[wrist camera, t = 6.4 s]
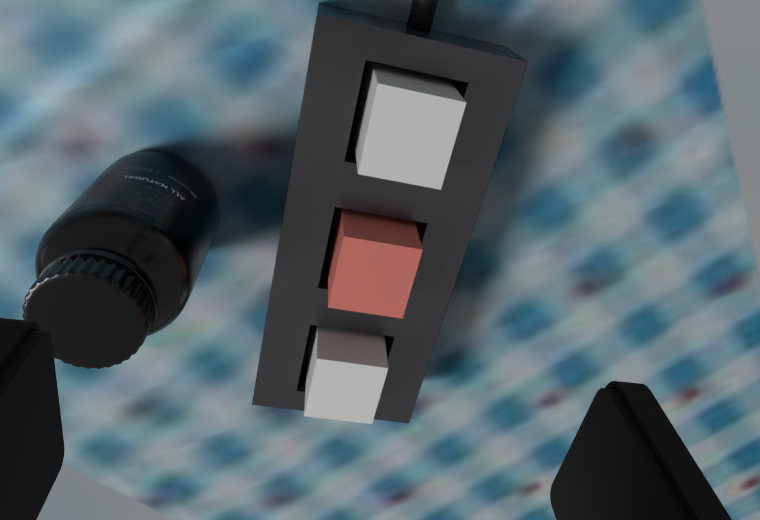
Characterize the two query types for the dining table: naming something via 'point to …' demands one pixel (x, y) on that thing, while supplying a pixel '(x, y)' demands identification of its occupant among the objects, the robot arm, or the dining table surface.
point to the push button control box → (379, 196)
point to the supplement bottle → (122, 258)
